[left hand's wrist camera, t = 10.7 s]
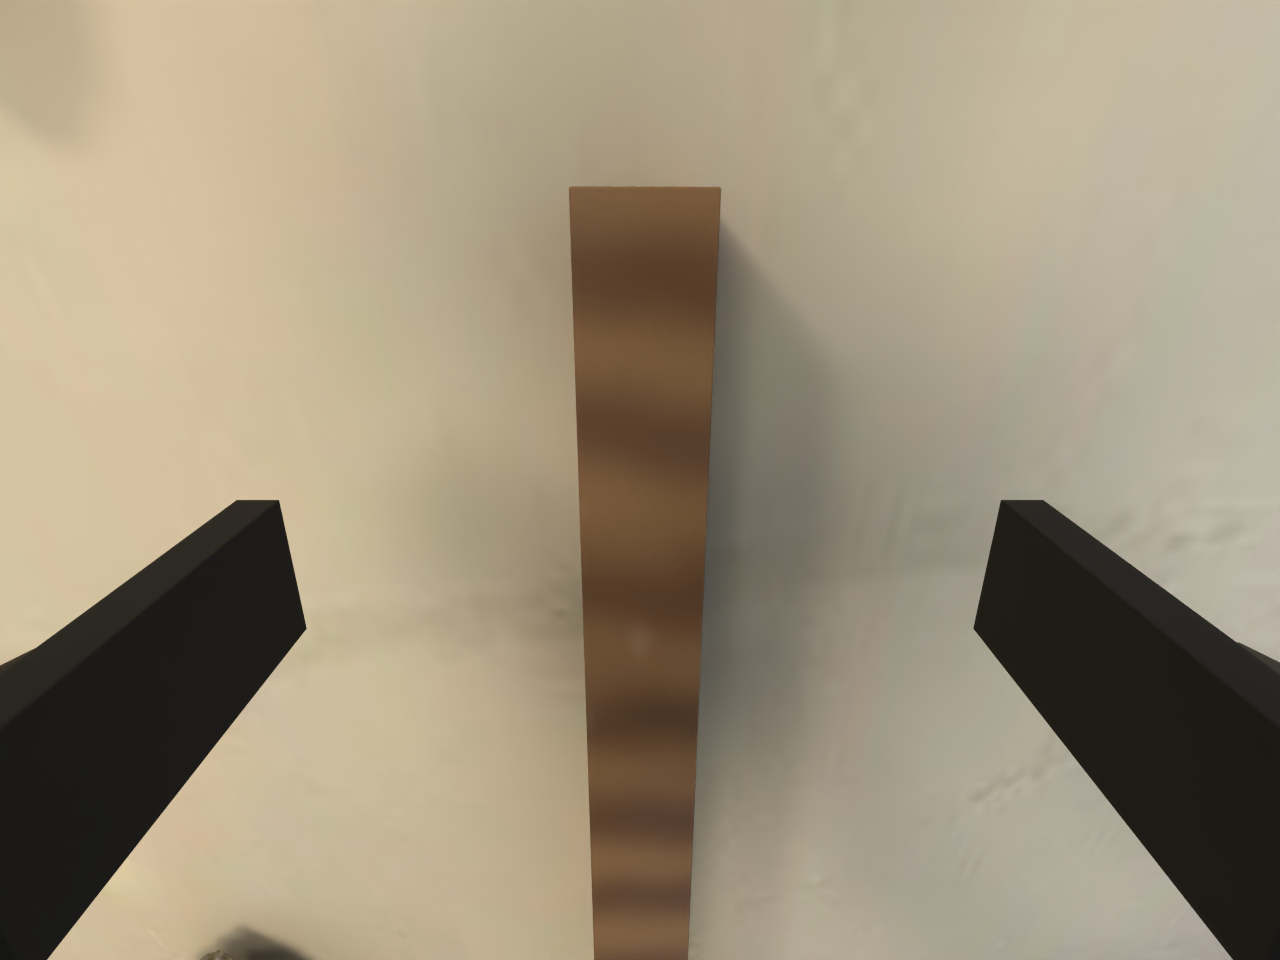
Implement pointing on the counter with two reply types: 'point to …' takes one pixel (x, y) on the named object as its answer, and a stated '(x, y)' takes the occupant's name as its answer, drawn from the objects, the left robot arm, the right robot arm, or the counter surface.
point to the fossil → (217, 956)
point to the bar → (643, 542)
